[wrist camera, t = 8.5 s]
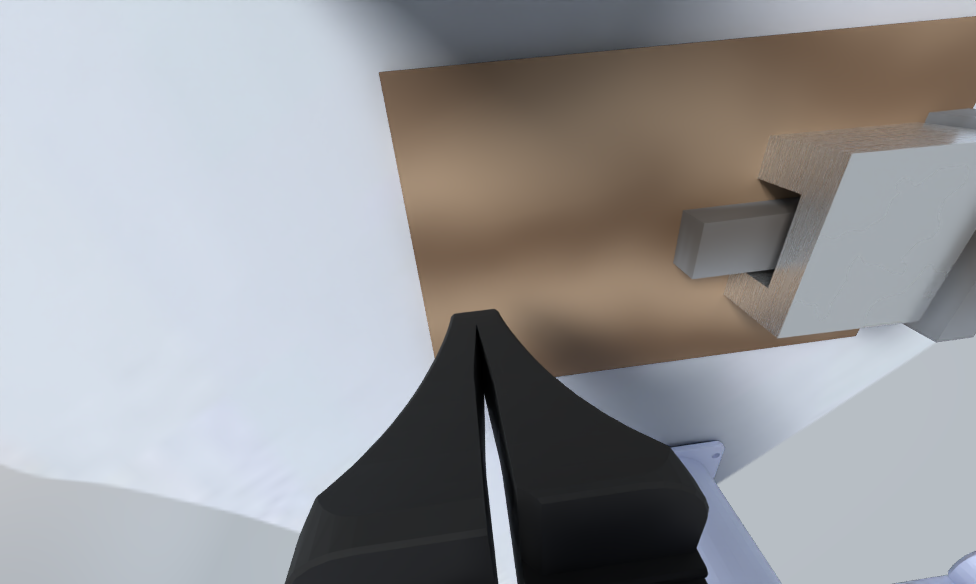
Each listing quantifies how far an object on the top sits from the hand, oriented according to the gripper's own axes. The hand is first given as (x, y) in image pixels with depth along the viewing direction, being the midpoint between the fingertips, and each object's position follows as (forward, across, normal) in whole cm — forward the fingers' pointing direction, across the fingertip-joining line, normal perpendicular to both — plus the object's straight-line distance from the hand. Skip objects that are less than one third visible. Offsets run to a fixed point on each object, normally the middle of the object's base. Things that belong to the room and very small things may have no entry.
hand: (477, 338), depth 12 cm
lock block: (+5, -15, 0) cm, 16 cm away
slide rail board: (+6, -9, 0) cm, 11 cm away
